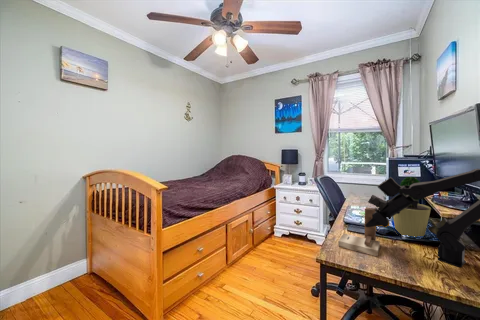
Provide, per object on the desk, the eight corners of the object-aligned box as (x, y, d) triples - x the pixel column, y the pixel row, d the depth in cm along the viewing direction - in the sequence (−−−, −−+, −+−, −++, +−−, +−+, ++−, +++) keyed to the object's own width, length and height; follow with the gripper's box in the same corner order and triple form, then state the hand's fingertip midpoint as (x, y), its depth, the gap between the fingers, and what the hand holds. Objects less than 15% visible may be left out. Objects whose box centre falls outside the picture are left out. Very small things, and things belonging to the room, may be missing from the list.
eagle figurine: (451, 237, 98) (426, 230, 103) (457, 228, 94) (431, 221, 99) (452, 251, 93) (425, 243, 98) (458, 242, 89) (430, 234, 94)
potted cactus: (400, 240, 99) (401, 177, 97) (385, 227, 114) (386, 173, 112) (438, 242, 96) (440, 178, 94) (417, 229, 111) (419, 173, 109)
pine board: (379, 246, 93) (379, 241, 93) (377, 256, 85) (377, 250, 85) (343, 238, 103) (343, 233, 102) (338, 246, 95) (338, 240, 95)
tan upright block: (375, 241, 98) (376, 208, 97) (372, 252, 88) (372, 215, 87) (365, 239, 100) (366, 207, 99) (361, 249, 90) (361, 213, 89)
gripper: (382, 186, 101) (356, 205, 108) (378, 194, 86) (349, 215, 94) (403, 205, 96) (374, 223, 104) (402, 216, 82) (369, 236, 89)
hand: (366, 224), depth 98 cm, fingers open, 6 cm apart
